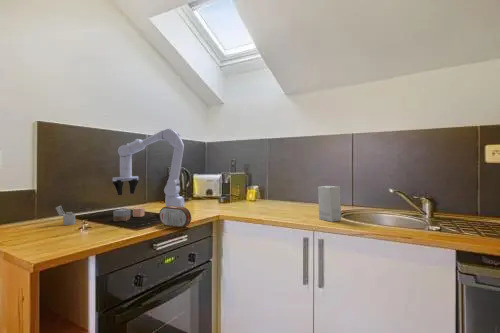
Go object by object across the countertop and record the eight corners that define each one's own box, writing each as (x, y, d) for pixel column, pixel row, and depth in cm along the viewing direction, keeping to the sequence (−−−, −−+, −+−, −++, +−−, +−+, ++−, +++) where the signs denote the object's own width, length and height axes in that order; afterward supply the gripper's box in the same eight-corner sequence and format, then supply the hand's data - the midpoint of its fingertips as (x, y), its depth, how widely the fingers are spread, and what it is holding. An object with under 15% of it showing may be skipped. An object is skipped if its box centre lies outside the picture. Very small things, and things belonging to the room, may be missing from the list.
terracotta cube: (144, 215, 138) (144, 207, 138) (140, 217, 134) (140, 208, 134) (136, 215, 138) (136, 207, 138) (132, 216, 134) (132, 208, 134)
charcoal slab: (130, 214, 128) (130, 209, 128) (123, 216, 123) (123, 211, 123) (121, 214, 129) (120, 209, 129) (113, 216, 124) (113, 210, 124)
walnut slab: (130, 219, 129) (130, 214, 129) (126, 222, 124) (126, 216, 124) (118, 219, 129) (118, 214, 129) (113, 222, 123) (113, 216, 123)
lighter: (75, 223, 118) (75, 205, 118) (73, 224, 116) (73, 206, 116) (57, 224, 117) (57, 205, 117) (55, 225, 115) (55, 206, 115)
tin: (191, 227, 111) (191, 206, 111) (186, 229, 108) (186, 208, 108) (163, 224, 118) (163, 204, 118) (158, 225, 115) (158, 205, 115)
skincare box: (341, 220, 124) (341, 186, 124) (330, 222, 121) (330, 187, 120) (327, 217, 131) (327, 185, 131) (317, 219, 128) (317, 186, 128)
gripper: (131, 168, 151) (132, 192, 152) (108, 168, 138) (108, 195, 138) (141, 168, 148) (141, 193, 148) (117, 168, 135) (118, 196, 135)
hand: (126, 194), depth 143 cm, fingers open, 7 cm apart
